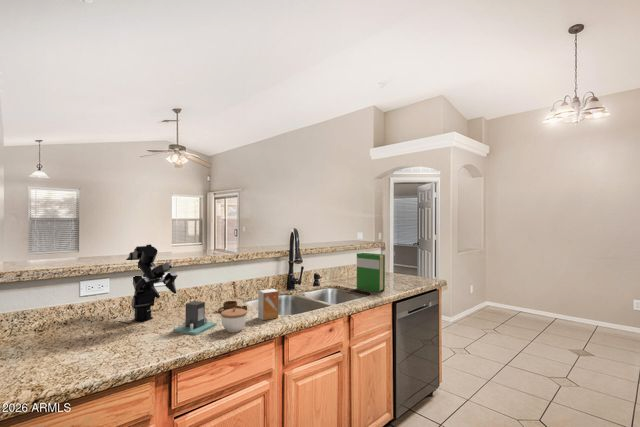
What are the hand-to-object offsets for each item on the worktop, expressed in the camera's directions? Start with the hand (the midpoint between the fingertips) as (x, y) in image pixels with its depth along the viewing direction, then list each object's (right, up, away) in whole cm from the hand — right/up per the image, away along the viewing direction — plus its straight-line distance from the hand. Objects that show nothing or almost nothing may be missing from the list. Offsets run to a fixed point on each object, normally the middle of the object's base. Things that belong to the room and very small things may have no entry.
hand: (167, 295), depth 143 cm
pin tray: (+13, -14, -3) cm, 19 cm away
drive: (+13, -13, -3) cm, 18 cm away
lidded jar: (+30, -14, -4) cm, 34 cm away
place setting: (+22, -15, +21) cm, 34 cm away
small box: (+42, -14, +13) cm, 47 cm away
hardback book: (+102, -15, +76) cm, 128 cm away
